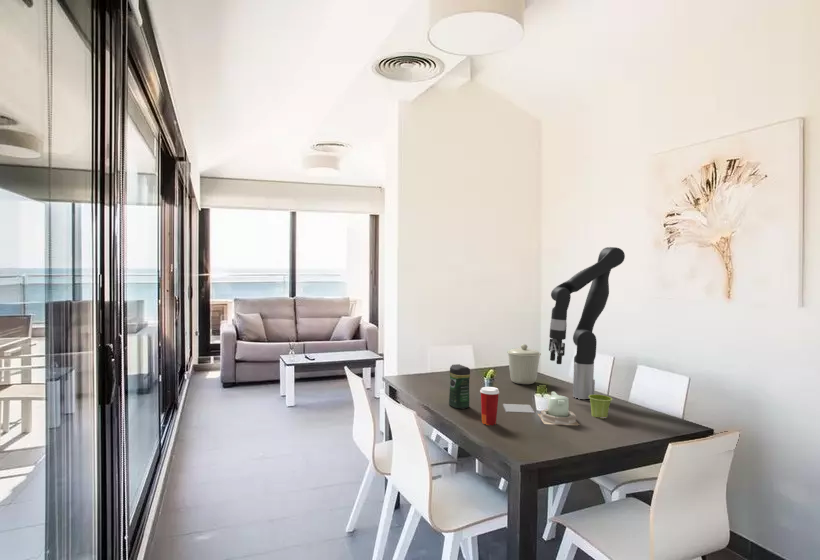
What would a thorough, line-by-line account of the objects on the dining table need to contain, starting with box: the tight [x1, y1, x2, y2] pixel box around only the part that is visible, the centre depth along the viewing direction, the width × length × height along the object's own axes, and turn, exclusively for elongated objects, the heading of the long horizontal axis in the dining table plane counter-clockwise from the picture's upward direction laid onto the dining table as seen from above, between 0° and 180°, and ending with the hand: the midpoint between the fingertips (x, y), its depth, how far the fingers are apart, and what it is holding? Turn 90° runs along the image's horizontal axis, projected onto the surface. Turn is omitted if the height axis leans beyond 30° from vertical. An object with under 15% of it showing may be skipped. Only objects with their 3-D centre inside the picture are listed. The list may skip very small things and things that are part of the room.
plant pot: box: [589, 394, 613, 418], centre depth 212 cm, size 9×9×9 cm
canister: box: [507, 343, 542, 385], centre depth 274 cm, size 18×18×21 cm
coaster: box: [502, 403, 536, 414], centre depth 221 cm, size 12×12×1 cm
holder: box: [537, 408, 580, 426], centre depth 206 cm, size 14×14×3 cm
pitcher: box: [547, 391, 570, 417], centre depth 208 cm, size 15×8×9 cm, turn 177°
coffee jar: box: [448, 363, 471, 410], centre depth 224 cm, size 10×8×19 cm
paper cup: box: [479, 386, 500, 426], centre depth 200 cm, size 8×8×14 cm
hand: (555, 362), depth 240 cm, fingers open, 8 cm apart
